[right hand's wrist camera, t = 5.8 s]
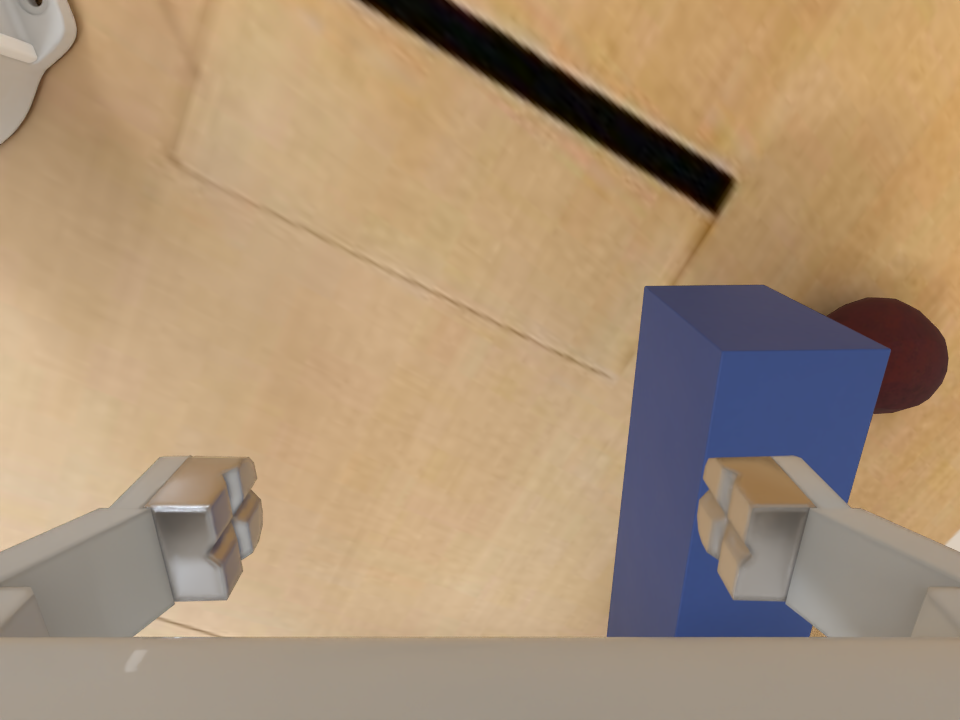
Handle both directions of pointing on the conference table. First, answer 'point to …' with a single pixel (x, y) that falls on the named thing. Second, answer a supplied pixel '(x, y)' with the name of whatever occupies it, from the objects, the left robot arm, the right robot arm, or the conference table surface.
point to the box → (727, 442)
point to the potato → (899, 349)
